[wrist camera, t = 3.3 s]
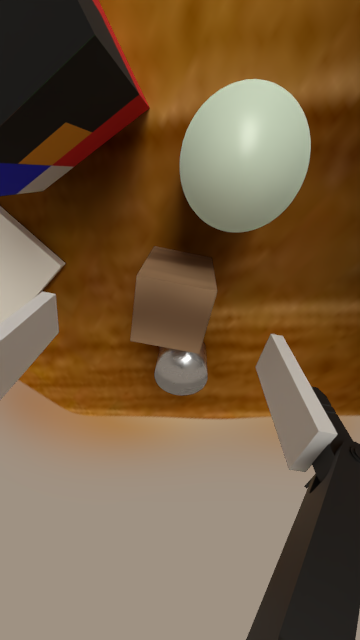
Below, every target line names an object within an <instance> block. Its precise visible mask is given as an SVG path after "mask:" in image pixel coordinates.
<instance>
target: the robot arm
mask: <svg viewBox="0 0 360 640" xmlns="http://www.w3.org/2000/svg"><path fill="white" fill-rule="evenodd" d="M58 333H59V327H58V315H57V304H56V294H53V293H48V292H41V293H40V294H39V295H37V296H36V297H35V298H33V299H32V300H31V301H29V302H28V303H27V304H25V305H24V306H23V307H21V308H20V309H19V310H18V311H16V312H15V313H14V314H12V315H11V316H10V317H8V318H7V319H6V320H4V321H3V322H2V323H0V400H1V399H2V398H3V396H4V395H5V394H6V393H7V392H8V391H9V389H10V388H11V387H12V386H13V385H14V384H15V382H17V380H18V379H19V378H20V377H21V376H22V375H23V373H24V372H25V371H26V370H27V369H28V368H29V366H30V365H31V364H32V363H33V362H34V361H35V360H36V358H37V357H38V356H39V355H40V354H41V353H42V351H43V350H44V349H45V348H46V347H47V346H48V344H49V343H50V342H51V341H52V340H53V339H54V338H55V336H56V335H57V334H58ZM256 370H257V373H258V376H259V379H260V382H261V385H262V389H263V392H264V395H265V398H266V401H267V404H268V407H269V410H270V413H271V416H272V419H273V422H274V425H275V428H276V431H277V434H278V437H279V440H280V444H281V447H282V449H283V453H284V456H285V459H286V462H287V465H288V468H289V470H296V471H302V472H306V471H307V470H308V468H309V467H310V466H311V465H313V467H314V470H315V472H316V474H315V475H314V476H313V477H312V479H311V480H310V481H309V482H308V483H307V484H306V485H305V487H306V488H308V489H307V492H306V494H305V497H304V499H303V502H302V504H301V507H300V509H299V512H298V514H297V517H296V519H295V521H294V524H293V526H292V529H291V531H290V534H289V536H288V538H287V541H286V543H285V546H284V548H283V551H282V553H281V556H280V558H279V560H278V563H277V565H276V568H275V570H274V573H273V575H272V578H271V580H270V583H269V585H268V588H267V590H266V592H265V595H264V597H263V600H262V602H261V605H260V607H259V610H258V612H257V615H256V617H255V620H254V622H253V624H252V627H251V629H250V632H249V634H248V637H247V639H246V640H355V637H356V630H357V623H358V616H359V609H360V444H358V443H356V442H353V440H352V439H351V437H350V435H349V433H348V432H347V430H346V429H345V427H344V425H343V424H342V422H341V421H340V419H339V417H338V415H337V414H336V412H335V410H334V409H333V407H331V404H330V402H329V400H328V399H327V397H326V396H325V395H324V394H323V393H322V392H321V391H320V390H319V389H318V388H316V387H311V386H310V384H309V382H308V380H307V378H306V377H305V375H304V373H303V371H302V370H301V368H300V366H299V364H298V362H297V361H296V359H295V357H294V355H293V353H292V352H291V350H290V348H289V346H288V345H287V343H286V341H285V339H284V337H283V336H280V335H274V334H270V337H269V339H268V341H267V343H266V345H265V347H264V350H263V352H262V354H261V356H260V358H259V361H258V363H257V365H256Z"/></svg>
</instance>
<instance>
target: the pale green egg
mask: <svg viewBox="0 0 360 640" xmlns="http://www.w3.org/2000/svg"><path fill="white" fill-rule="evenodd" d="M310 151H311V139H310V132H309V127H308V123H307V119H306V117H305V114H304V112H303V110H302V108H301V107H300V105H299V103H298V102H297V100H296V99H295V98H294V97H293V96H292V95H291V94H290V93H289V92H288V91H287V90H285V89H284V88H283V87H281V86H279V85H277V84H275V83H272V82H269V81H266V80H259V79H247V80H242V81H238V82H235V83H232V84H230V85H227V86H226V87H224V88H222V89H220V90H219V91H217V92H216V93H215V94H213V95H212V96H211V97H210V98H209V99H208V100H207V101H206V102H205V103H204V104H203V105H202V106H201V107H200V109H199V110H198V111H197V113H196V114H195V116H194V117H193V119H192V121H191V123H190V125H189V127H188V129H187V131H186V134H185V137H184V140H183V144H182V148H181V154H180V178H181V184H182V188H183V191H184V194H185V197H186V199H187V201H188V203H189V205H190V206H191V208H192V209H193V211H194V212H195V213H196V214H197V215H198V217H199V218H200V219H202V220H203V221H204V222H205V223H207V224H208V225H210V226H212V227H214V228H216V229H219V230H222V231H226V232H247V231H251V230H255V229H257V228H260V227H262V226H264V225H266V224H268V223H269V222H271V221H272V220H274V219H275V218H277V217H278V216H279V215H280V214H281V213H282V212H283V211H284V210H285V209H286V208H287V207H288V206H289V205H290V203H291V202H292V201H293V199H294V198H295V196H296V195H297V193H298V191H299V190H300V188H301V185H302V183H303V181H304V179H305V176H306V173H307V169H308V165H309V160H310Z"/></svg>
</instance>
